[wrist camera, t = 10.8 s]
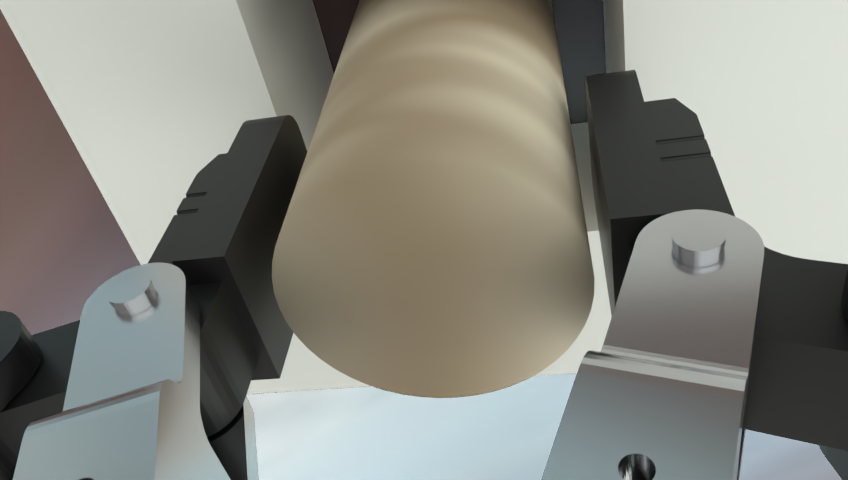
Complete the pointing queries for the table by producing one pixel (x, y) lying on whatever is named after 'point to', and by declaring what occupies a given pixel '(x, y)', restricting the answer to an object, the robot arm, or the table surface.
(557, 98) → the cream ribbed cylinder
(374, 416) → the table surface
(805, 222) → the socket
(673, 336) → the robot arm
